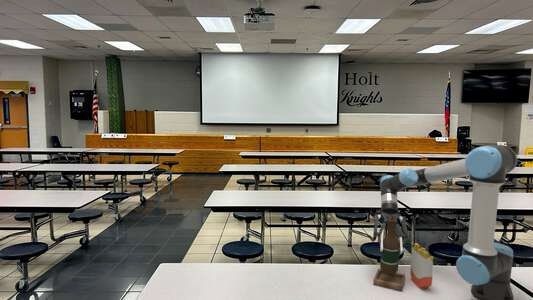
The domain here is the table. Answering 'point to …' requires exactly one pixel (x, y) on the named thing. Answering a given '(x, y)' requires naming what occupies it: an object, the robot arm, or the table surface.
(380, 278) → the wooden tray
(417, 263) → the french fries container
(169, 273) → the table surface
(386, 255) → the beer bottle
